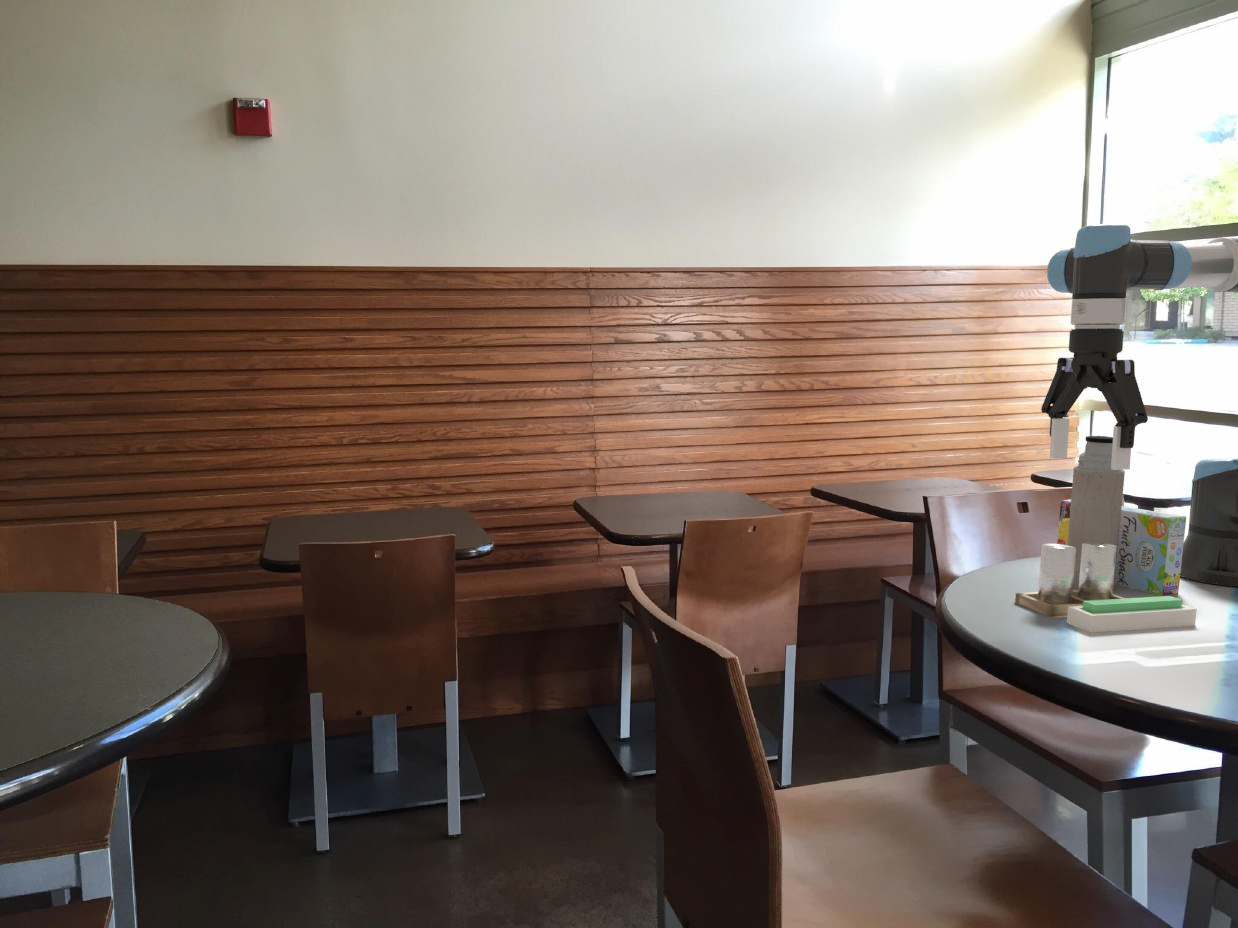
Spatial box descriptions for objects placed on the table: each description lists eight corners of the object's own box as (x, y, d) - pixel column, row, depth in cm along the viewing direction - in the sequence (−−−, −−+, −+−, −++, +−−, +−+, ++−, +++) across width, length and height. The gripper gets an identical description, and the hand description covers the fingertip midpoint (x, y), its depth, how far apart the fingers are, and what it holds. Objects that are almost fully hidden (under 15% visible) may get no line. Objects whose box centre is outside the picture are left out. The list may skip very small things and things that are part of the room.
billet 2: (1095, 600, 161) (1100, 541, 159) (1118, 608, 156) (1123, 547, 154) (1070, 602, 159) (1075, 542, 158) (1092, 610, 154) (1097, 548, 153)
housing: (1167, 625, 152) (1170, 600, 152) (1194, 634, 148) (1196, 609, 147) (1065, 631, 148) (1068, 606, 147) (1089, 641, 143) (1091, 615, 142)
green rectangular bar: (1167, 620, 151) (1169, 595, 150) (1179, 625, 148) (1182, 599, 148) (1080, 626, 147) (1083, 600, 146) (1092, 631, 144) (1094, 605, 144)
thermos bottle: (1106, 590, 174) (1119, 435, 170) (1119, 602, 166) (1134, 439, 162) (1058, 587, 175) (1071, 433, 172) (1069, 598, 167) (1083, 437, 164)
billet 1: (1057, 603, 158) (1061, 543, 157) (1077, 611, 154) (1083, 549, 152) (1030, 604, 157) (1035, 544, 156) (1050, 612, 152) (1055, 550, 151)
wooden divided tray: (1092, 604, 164) (1094, 587, 163) (1138, 621, 154) (1140, 603, 154) (1011, 609, 159) (1012, 591, 159) (1053, 627, 150) (1054, 608, 149)
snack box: (1180, 601, 168) (1188, 515, 166) (1160, 605, 165) (1169, 517, 163) (1071, 574, 186) (1077, 496, 184) (1052, 577, 183) (1058, 498, 181)
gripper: (1023, 327, 161) (1016, 454, 163) (1138, 327, 137) (1127, 475, 140) (1061, 327, 162) (1054, 453, 165) (1181, 327, 139) (1170, 473, 141)
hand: (1087, 463), depth 152 cm, fingers open, 13 cm apart
